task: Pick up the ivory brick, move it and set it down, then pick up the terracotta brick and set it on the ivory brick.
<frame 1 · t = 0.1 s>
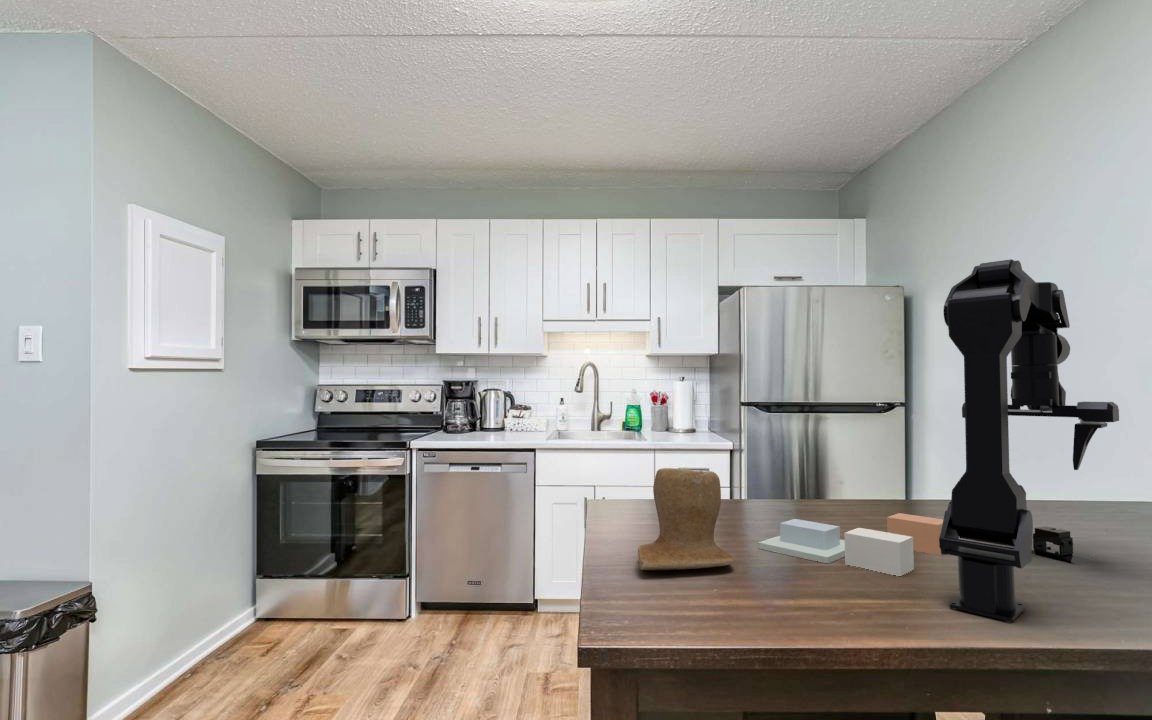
hand: (1038, 466, 93), 15 cm above the table, tool pointing down, fingers open, 9 cm apart
black mechanical block: (1053, 559, 97), on the table
brown upright flared piece: (680, 566, 93), on the table
ivory brick: (879, 568, 91), on the table
terracotta brick: (918, 548, 102), on the table
baseplate: (809, 548, 102), on the table
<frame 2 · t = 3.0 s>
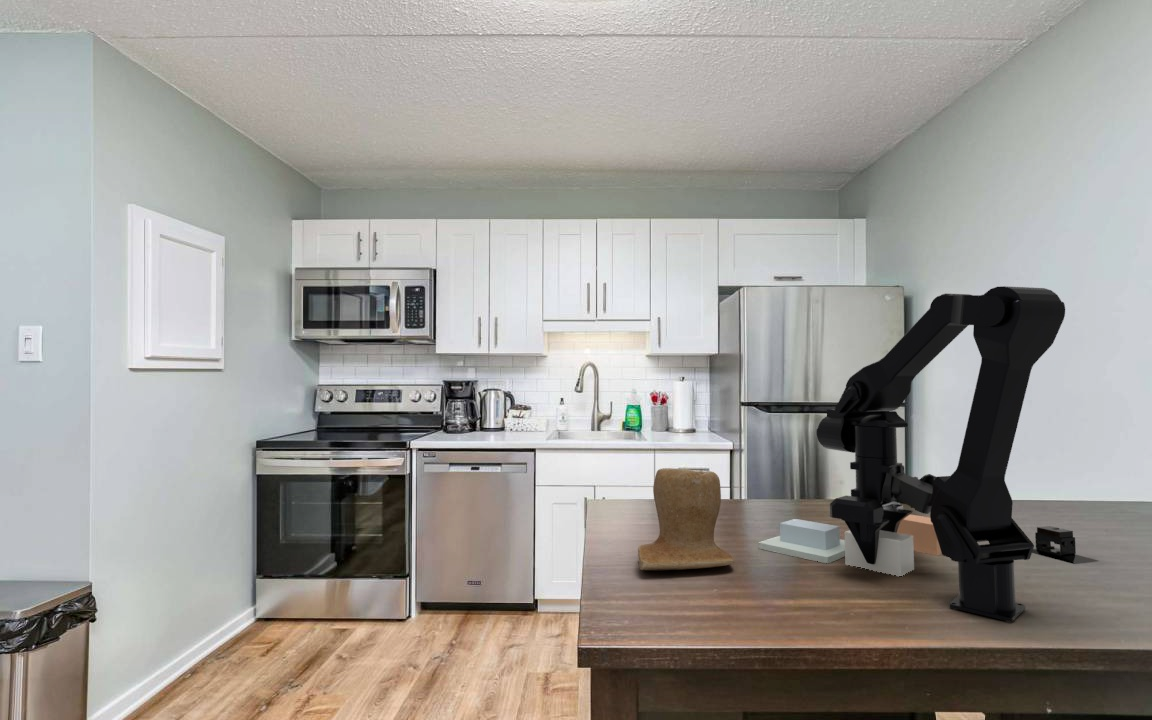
hand: (878, 560, 91), 1 cm above the table, tool pointing down, fingers closed on ivory brick, 5 cm apart
ivory brick: (879, 567, 91), on the table, touching gripper
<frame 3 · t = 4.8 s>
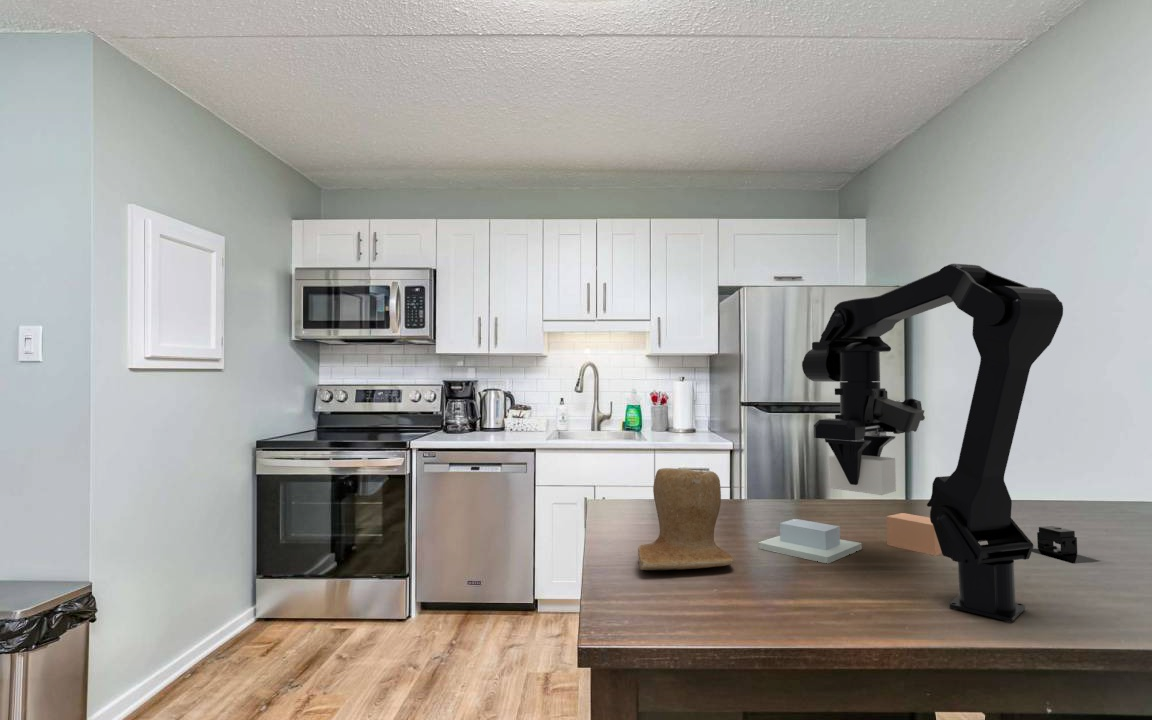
hand: (861, 482, 94), 12 cm above the table, tool pointing down, fingers closed on ivory brick, 5 cm apart
ivory brick: (862, 489, 94), point 11 cm above the table, touching gripper
when the fingers open (6 cm above the table, at t = 6.9 s): ivory brick stays where it is, resting on baseplate.
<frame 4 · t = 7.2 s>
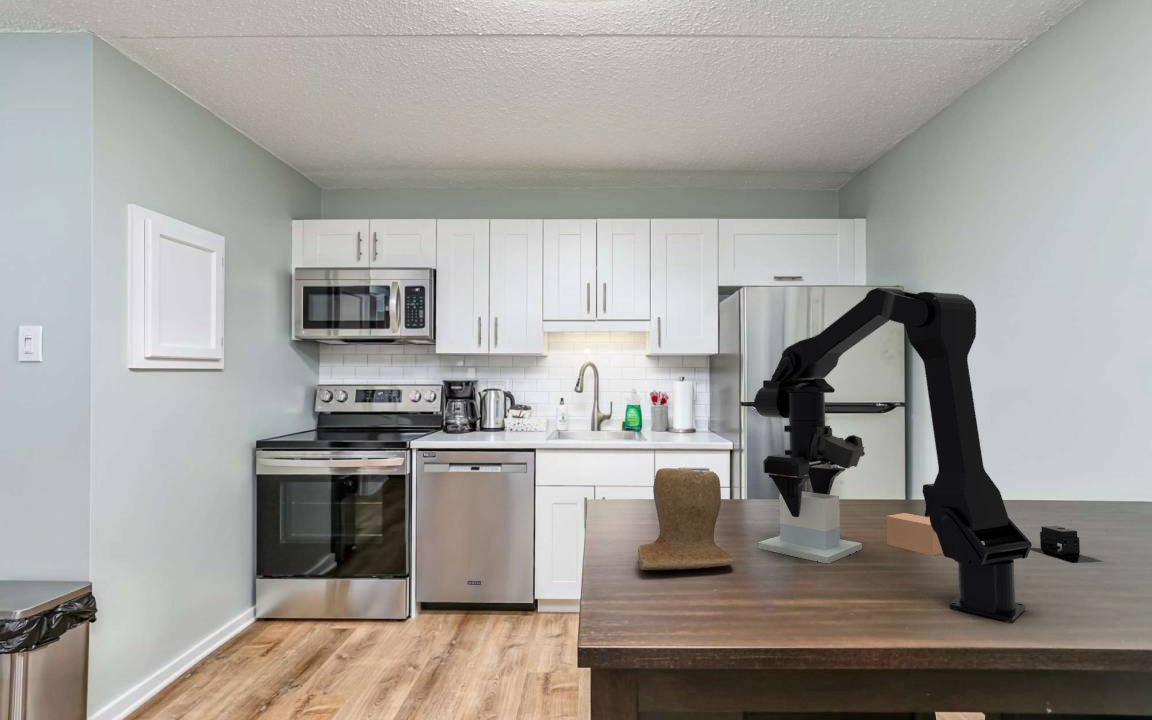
hand: (809, 512, 102), 6 cm above the table, tool pointing down, fingers open, 9 cm apart
ivory brick: (809, 524, 102), point 4 cm above the table, touching baseplate
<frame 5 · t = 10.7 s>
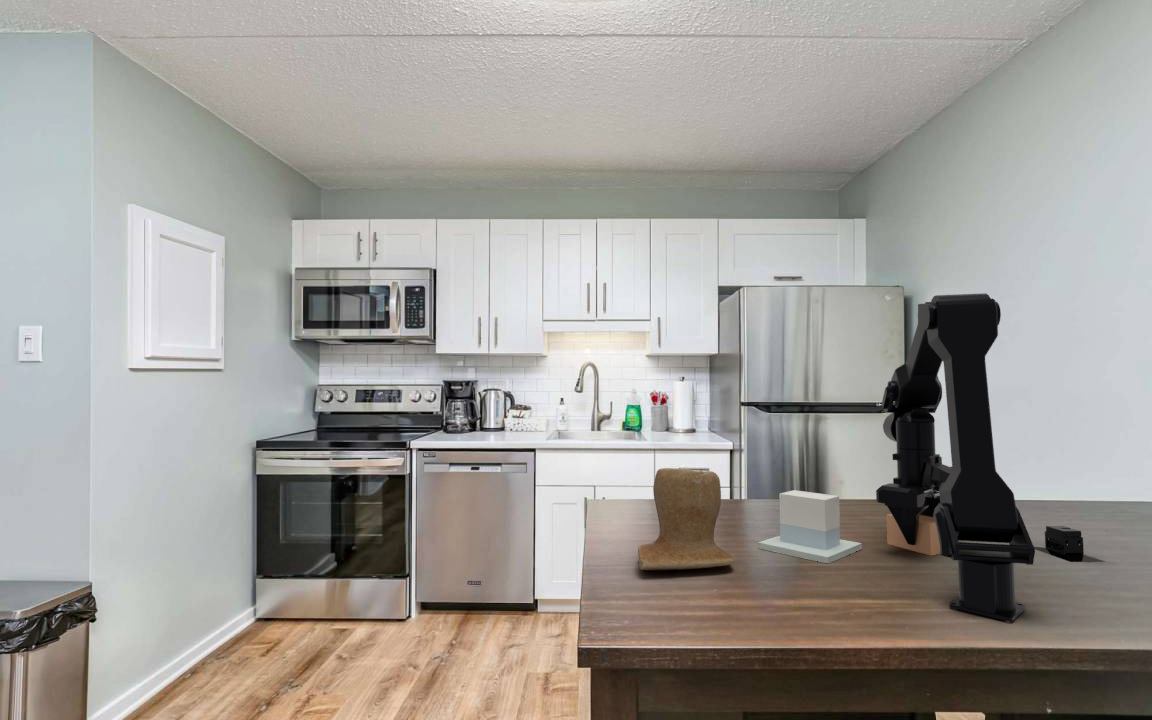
hand: (918, 541, 102), 1 cm above the table, tool pointing down, fingers closed on terracotta brick, 6 cm apart
terracotta brick: (918, 547, 102), on the table, touching gripper
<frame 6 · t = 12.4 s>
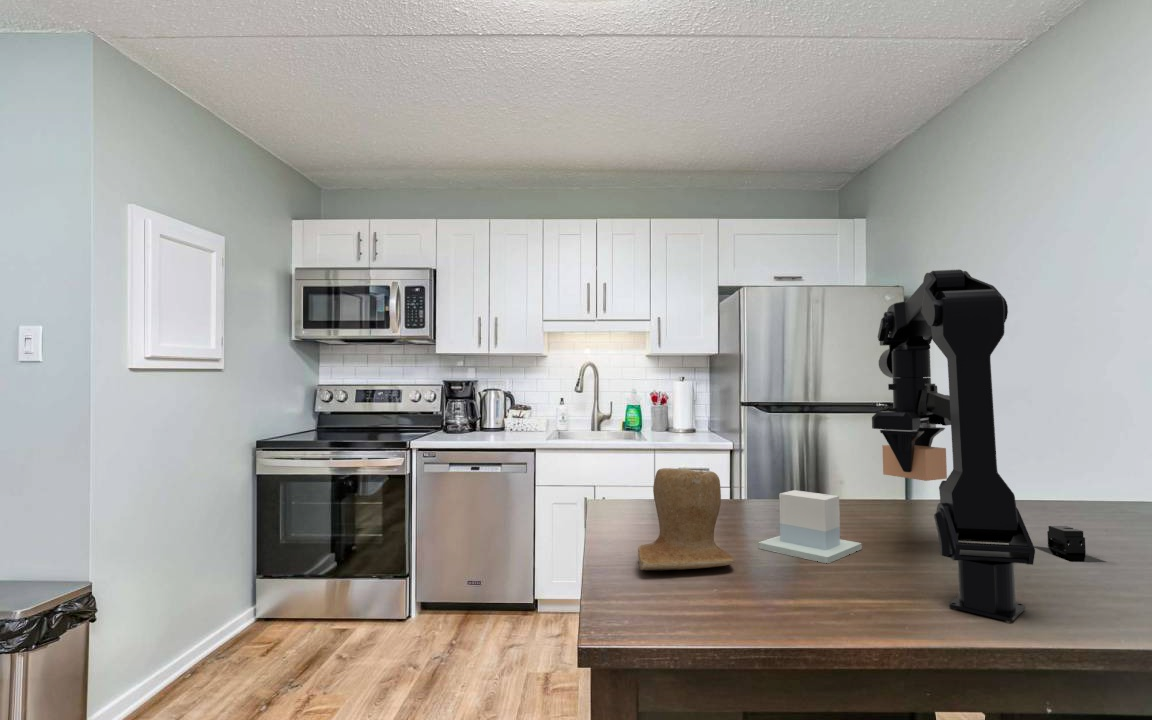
hand: (914, 470, 103), 13 cm above the table, tool pointing down, fingers closed on terracotta brick, 6 cm apart
terracotta brick: (914, 476, 103), point 12 cm above the table, touching gripper
when the fingers open (11 cm above the table, at t = 14.4 s): terracotta brick stays where it is, resting on ivory brick.
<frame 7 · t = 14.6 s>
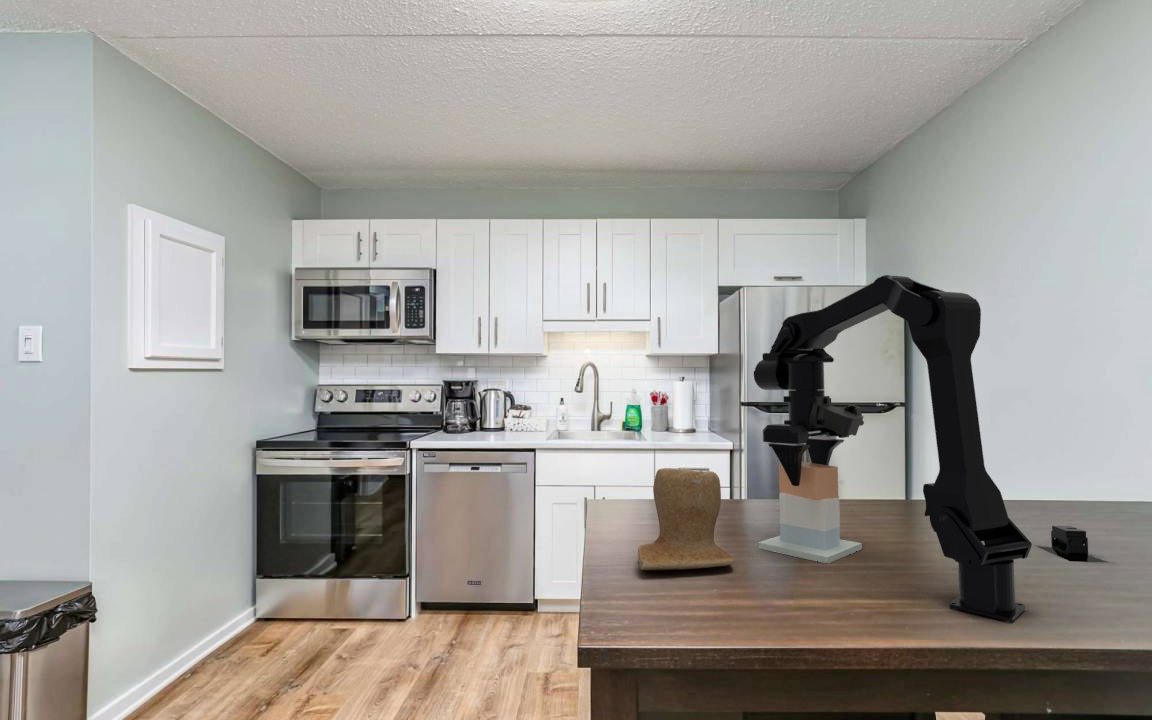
hand: (808, 482, 102), 11 cm above the table, tool pointing down, fingers open, 8 cm apart
ivory brick: (809, 524, 102), point 4 cm above the table, touching baseplate, terracotta brick
terracotta brick: (808, 494, 102), point 9 cm above the table, touching ivory brick
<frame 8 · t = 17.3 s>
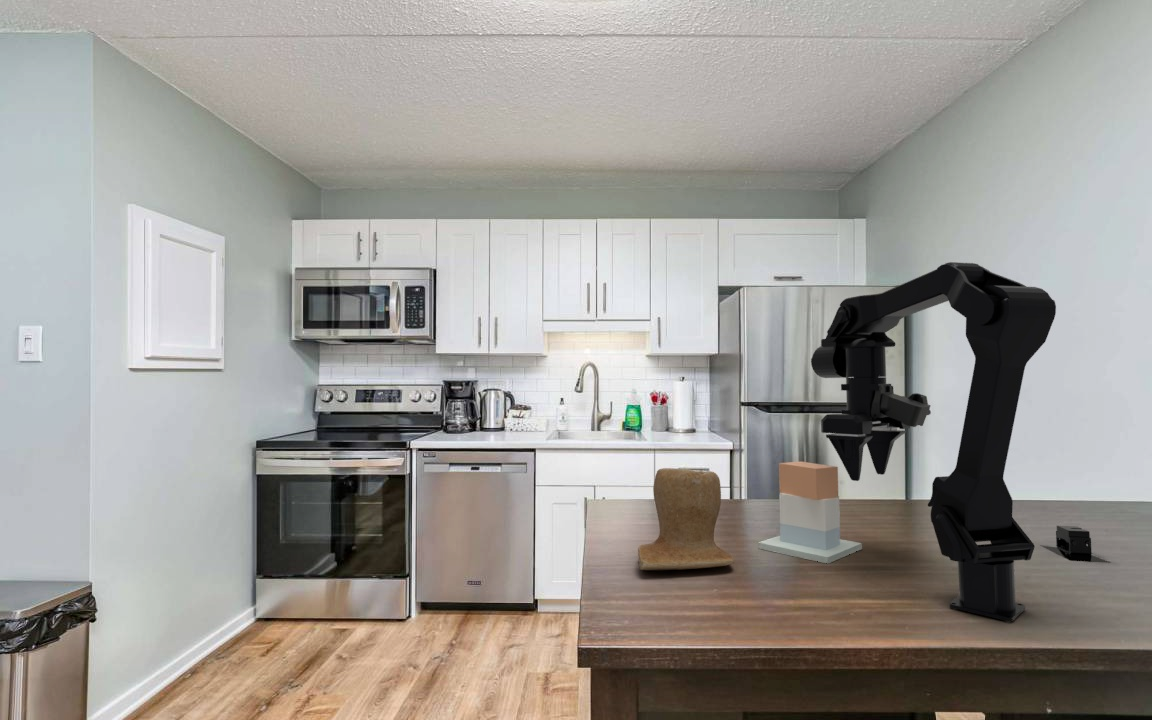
hand: (868, 477, 95), 13 cm above the table, tool pointing down, fingers open, 9 cm apart
at the end: ivory brick 0.1 cm off-centre on the baseplate, point 4.0 cm above the baseplate's base; terracotta brick 0.1 cm off-centre on the baseplate, point 9.0 cm above the baseplate's base; terracotta brick tilted 0° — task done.
